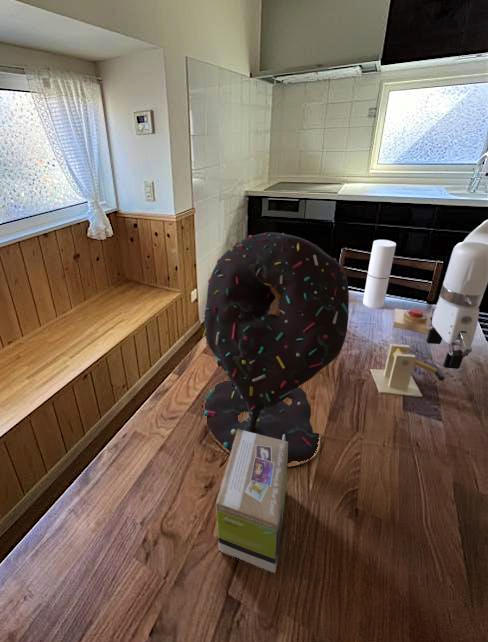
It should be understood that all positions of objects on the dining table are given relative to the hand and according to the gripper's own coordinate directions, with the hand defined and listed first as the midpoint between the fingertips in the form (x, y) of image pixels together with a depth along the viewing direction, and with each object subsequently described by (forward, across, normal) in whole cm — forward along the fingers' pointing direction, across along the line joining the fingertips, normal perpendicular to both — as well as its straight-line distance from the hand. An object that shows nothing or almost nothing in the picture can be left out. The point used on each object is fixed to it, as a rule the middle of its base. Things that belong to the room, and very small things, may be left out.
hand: (441, 354), depth 85 cm
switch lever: (+5, 0, +5) cm, 7 cm away
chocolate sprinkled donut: (+12, -15, +44) cm, 48 cm away
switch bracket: (+12, 0, +9) cm, 14 cm away
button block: (+11, +32, -7) cm, 35 cm away
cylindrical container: (+11, +45, +3) cm, 47 cm away
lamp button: (+7, +32, -7) cm, 34 cm away
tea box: (+12, -41, +45) cm, 62 cm away
